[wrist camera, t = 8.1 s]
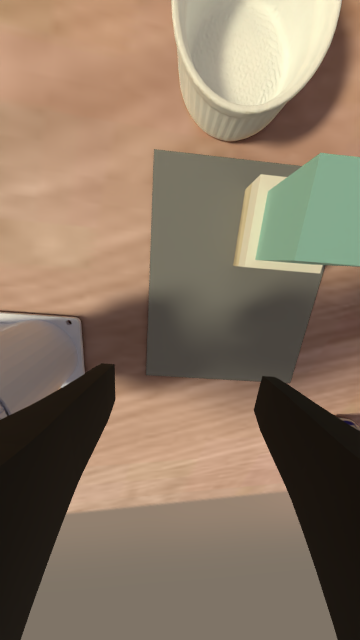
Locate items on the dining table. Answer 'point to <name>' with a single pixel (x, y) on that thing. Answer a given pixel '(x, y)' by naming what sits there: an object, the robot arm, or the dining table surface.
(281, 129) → the dining table surface
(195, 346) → the mat
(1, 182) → the dining table surface
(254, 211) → the tower top
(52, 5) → the dining table surface
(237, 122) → the ramekin
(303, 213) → the block
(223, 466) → the dining table surface
